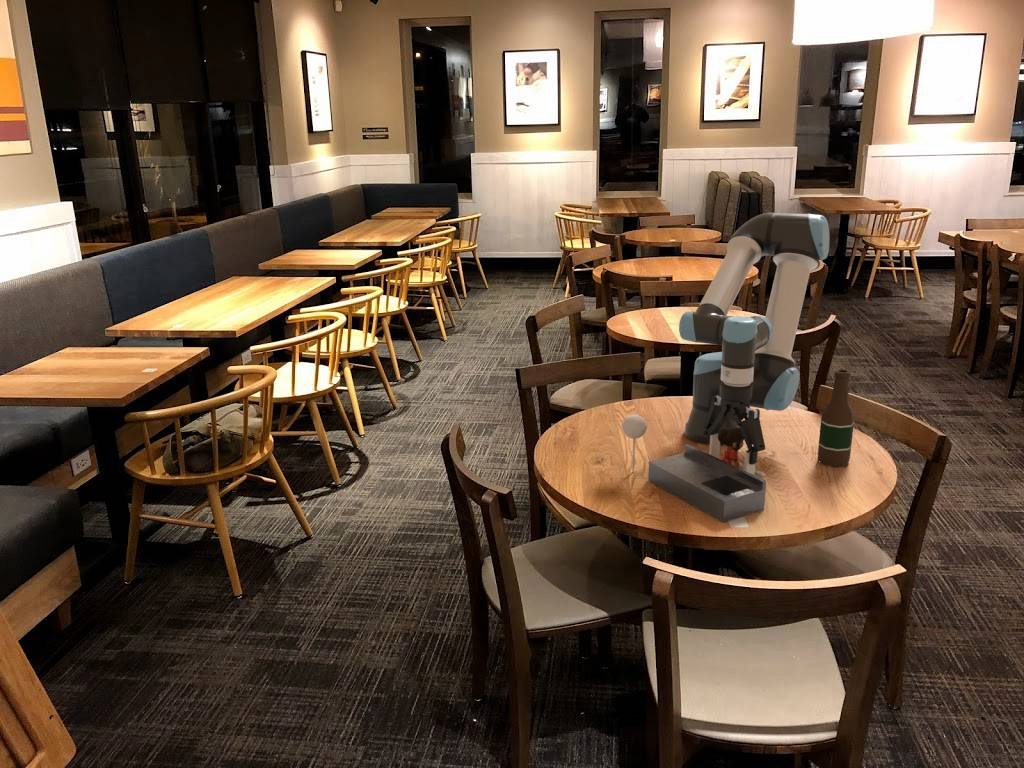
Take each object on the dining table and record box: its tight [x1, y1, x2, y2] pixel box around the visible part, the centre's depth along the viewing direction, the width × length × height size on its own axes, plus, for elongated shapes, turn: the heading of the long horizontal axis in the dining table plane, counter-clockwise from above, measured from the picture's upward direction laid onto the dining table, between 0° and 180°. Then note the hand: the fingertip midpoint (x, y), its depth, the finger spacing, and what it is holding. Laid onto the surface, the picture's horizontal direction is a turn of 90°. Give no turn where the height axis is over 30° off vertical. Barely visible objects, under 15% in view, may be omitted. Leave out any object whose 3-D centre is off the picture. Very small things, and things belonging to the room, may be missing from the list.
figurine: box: [718, 426, 745, 468], centre depth 199 cm, size 6×6×12 cm
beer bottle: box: [817, 369, 855, 468], centre depth 203 cm, size 8×8×24 cm
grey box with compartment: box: [647, 443, 767, 523], centre depth 188 cm, size 26×12×7 cm, turn 29°
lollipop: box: [621, 414, 648, 473], centre depth 201 cm, size 6×6×15 cm
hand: (731, 467), depth 200 cm, fingers open, 11 cm apart
